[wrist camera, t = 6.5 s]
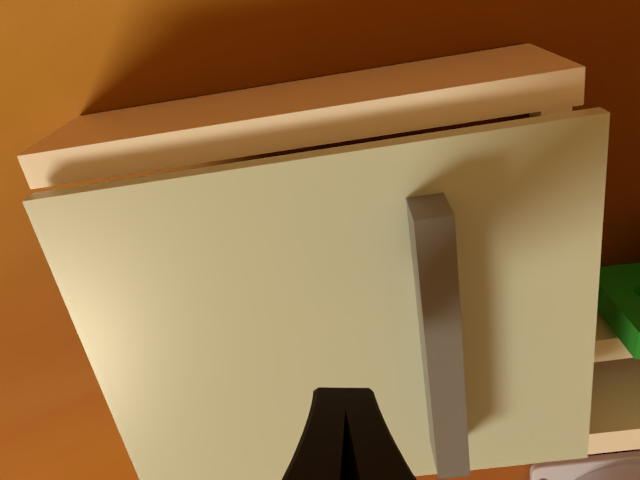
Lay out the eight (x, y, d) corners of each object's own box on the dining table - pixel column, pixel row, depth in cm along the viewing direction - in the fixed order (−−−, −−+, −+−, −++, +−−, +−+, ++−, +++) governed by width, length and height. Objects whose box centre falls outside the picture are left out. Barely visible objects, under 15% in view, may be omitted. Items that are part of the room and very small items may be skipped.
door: (580, 444, 20) (606, 494, 18) (154, 490, 21) (137, 542, 19) (599, 106, 15) (639, 129, 13) (32, 193, 16) (-7, 224, 14)
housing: (920, 329, 24) (1042, 406, 20) (184, 416, 26) (158, 500, 22) (1057, -43, 18) (1276, -43, 14) (79, 116, 20) (16, 156, 16)
